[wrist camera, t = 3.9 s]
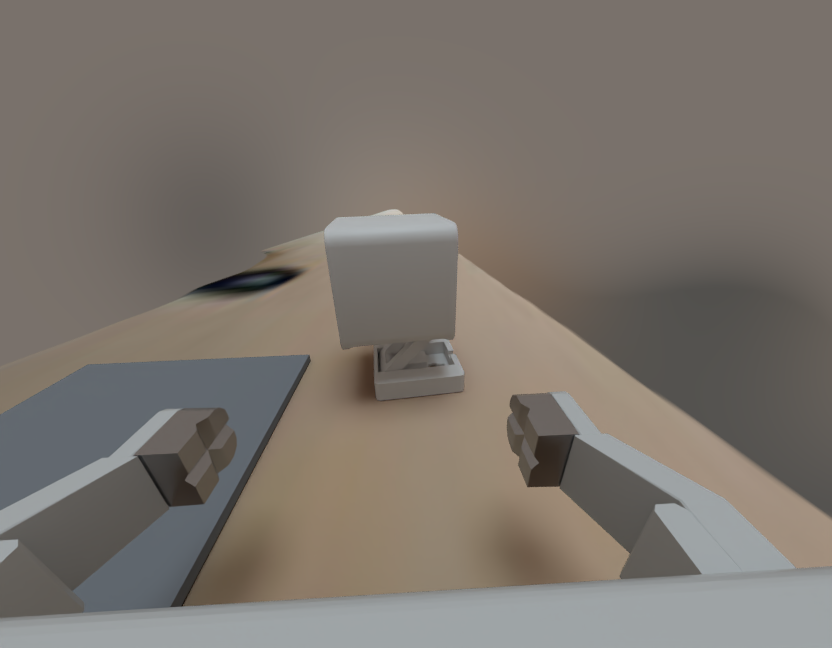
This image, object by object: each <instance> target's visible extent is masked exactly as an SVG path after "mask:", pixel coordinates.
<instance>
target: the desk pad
mask: <svg viewBox="0 0 832 648" xmlns="http://www.w3.org/2000/svg"><path fill="white" fill-rule="evenodd" d="M309 362H310V356H309V355H291V356H268V357H246V358H224V359H201V360H179V361H157V362H134V363H112V364H90V365H86V366H84V367H83V368H81V369H79V370H77V371H76V372H74V373H72V374H70V375H69V376H67V377H65V378H63V379H62V380H60V381H58V382H56V383H55V384H53V385H51V386H49V387H48V388H46V389H44V390H42V391H41V392H39V393H37V394H35V395H34V396H32V397H30V398H28V399H27V400H25V401H23V402H21V403H20V404H18V405H16V406H14V407H13V408H11V409H9V410H7V411H6V412H4V413H2V414H0V510H2V509H4V508H6V507H8V506H10V505H12V504H14V503H16V502H18V501H20V500H22V499H24V498H26V497H27V496H29V495H31V494H33V493H35V492H37V491H39V490H41V489H43V488H45V487H47V486H49V485H51V484H53V483H55V482H56V481H58V480H60V479H62V478H64V477H66V476H68V475H70V474H72V473H74V472H76V471H78V470H80V469H82V468H84V467H85V466H87V465H89V464H91V463H93V462H95V461H97V460H99V459H101V458H109V457H110V456H111V455H112V454H113V453H114V452H115V451H116V450H117V449H118V448H120V447H121V446H122V445H123V444H124V443H125V442H126V441H127V440H128V439H129V438H130V437H132V436H133V435H134V434H135V433H136V432H137V431H138V430H139V429H140V428H141V427H142V426H144V425H145V424H146V423H147V422H148V421H149V420H150V419H151V418H152V417H153V416H154V415H156V414H157V413H158V412H159V411H162V410H165V409H184V408H219V407H220V408H223V409H225V410H226V412H227V414H228V416H229V420H228V422H227V424H226V425H228V426H229V427H230V428H232V429H233V430H234V432H235V434H236V437H237V447H236V451H235V455H234V457H233V459H232V460H231V462H230V464H229V465H228V466H227V467H226V468H224V469H223V470H222V471H220V472H219V473H218V475H219V482H218V483H217V485H216V486H215V488H214V490H213V491H212V493H211V494H210V496H209V498H208V499H207V501H206V502H205V504H201V505H189V506H177V507H169V508H170V509H169V510H168V511H167V512H165V513H164V514H163V515H162V516H161V517H159V518H158V519H157V520H156V521H155V522H154V523H152V524H151V525H150V526H149V527H148V528H146V529H145V530H144V531H143V532H142V533H141V534H139V535H138V536H137V537H136V538H135V539H133V540H132V541H131V542H130V543H129V544H128V545H126V546H125V547H124V548H123V549H122V550H120V551H119V552H118V553H117V554H116V555H114V556H113V557H112V558H111V559H110V560H109V561H107V562H106V563H105V564H104V565H103V566H101V567H100V568H99V569H98V570H97V571H96V572H94V573H93V574H92V575H91V576H90V577H88V578H87V579H86V580H85V581H84V582H83V583H81V584H80V585H79V586H78V587H77V588H75V589H74V590H73V592H74V593H75V594H76V595H77V596H78V597H79V598H80V599H81V600H82V601H83V602H84V611H83V612H82V613H88V612H104V611H119V610H135V609H151V608H167V607H181V605H182V604H183V602H184V600H185V598H186V596H187V594H188V592H189V590H190V588H191V586H192V585H193V583H194V581H195V579H196V577H197V575H198V573H199V571H200V569H201V567H202V566H203V564H204V562H205V560H206V558H207V556H208V554H209V552H210V550H211V548H212V547H213V545H214V543H215V541H216V539H217V537H218V535H219V533H220V531H221V529H222V528H223V526H224V524H225V522H226V520H227V518H228V516H229V514H230V512H231V510H232V509H233V507H234V505H235V503H236V501H237V499H238V497H239V495H240V493H241V491H242V490H243V488H244V486H245V484H246V482H247V480H248V478H249V476H250V474H251V472H252V471H253V469H254V467H255V465H256V463H257V461H258V459H259V457H260V455H261V453H262V452H263V450H264V448H265V446H266V444H267V442H268V440H269V438H270V436H271V434H272V433H273V431H274V429H275V427H276V425H277V423H278V421H279V419H280V417H281V415H282V414H283V412H284V410H285V408H286V406H287V404H288V402H289V400H290V398H291V396H292V395H293V393H294V391H295V389H296V387H297V385H298V383H299V381H300V379H301V377H302V376H303V374H304V372H305V370H306V368H307V366H308V364H309Z"/></svg>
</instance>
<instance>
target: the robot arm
mask: <svg viewBox="0 0 832 648" xmlns="http://www.w3.org/2000/svg"><path fill="white" fill-rule="evenodd" d="M510 408H511V410H512V412H513V413H512V414H511V415H510V416H509V417H508V420H507V436H508V440H509V444H510V446H511V449H512V451H513V452H514V453H515V454H517V455H518V456H519V463H518V466H519V468H520V471H521V473H522V475H523V478H524V480H525V483H526V485H527V487H558V486H560V489H561V490H562V491H563V492H564V493H565V494H566V495H568V496H569V497H570V498H571V499H572V500H573V501H574V502H575V503H576V504H577V505H578V506H579V507H581V508H582V509H583V510H584V511H585V512H586V513H587V514H588V515H589V516H590V517H591V518H592V519H593V520H595V521H596V522H597V523H598V524H599V525H600V526H601V527H602V528H603V529H604V530H605V531H606V532H608V533H609V534H610V535H611V536H612V537H613V538H614V539H615V540H616V541H617V542H618V543H619V544H620V545H622V546H623V547H624V548H625V549H626V550H627V551H628V552H629V553H630V555H629V557H628V559H627V561H626V563H625V565H624V567H623V568H622V571H621V574H620V578H621V579H617V580H601V581H584V582H568V583H552V584H536V585H520V586H504V587H488V588H471V589H455V590H439V591H423V592H407V593H391V594H374V595H358V596H342V597H326V598H310V599H294V600H278V601H262V602H246V603H230V604H215V605H199V606H183V607H167V608H151V609H135V610H119V611H104V612H88V613H82V612H83V611H84V602H83V601H82V600H81V599H80V598H79V597H78V596H77V595H76V594H75V593H74V592H73V590H74V589H75V588H77V587H78V586H79V585H80V584H81V583H83V582H84V581H85V580H86V579H87V578H88V577H90V576H91V575H92V574H93V573H94V572H96V571H97V570H98V569H99V568H100V567H101V566H103V565H104V564H105V563H106V562H107V561H109V560H110V559H111V558H112V557H113V556H114V555H116V554H117V553H118V552H119V551H120V550H122V549H123V548H124V547H125V546H126V545H128V544H129V543H130V542H131V541H132V540H133V539H135V538H136V537H137V536H138V535H139V534H141V533H142V532H143V531H144V530H145V529H146V528H148V527H149V526H150V525H151V524H152V523H154V522H155V521H156V520H157V519H158V518H159V517H161V516H162V515H163V514H164V513H165V512H167V511H168V510H169V509H170V508H169V507H177V506H189V505H201V504H205V502H206V501H207V499H208V498H209V496H210V494H211V493H212V491H213V490H214V488H215V486H216V485H217V483H218V482H219V475H218V473H219V472H220V471H222V470H223V469H224V468H226V467H227V466H228V465H229V464H230V462H231V460H232V459H233V457H234V455H235V451H236V447H237V437H236V434H235V432H234V430H233V429H232V428H230V427H229V426H228V425H226V424H227V422H228V420H229V416H228V414H227V412H226V410H225V409H223V408H220V407H219V408H184V409H165V410H162V411H159V412H158V413H157V414H156V415H154V416H153V417H152V418H151V419H150V420H149V421H148V422H147V423H146V424H145V425H144V426H142V427H141V428H140V429H139V430H138V431H137V432H136V433H135V434H134V435H133V436H132V437H130V438H129V439H128V440H127V441H126V442H125V443H124V444H123V445H122V446H121V447H120V448H118V449H117V450H116V451H115V452H114V453H113V454H112V455H111V456H110V457H109V458H101V459H99V460H97V461H95V462H93V463H91V464H89V465H87V466H85V467H84V468H82V469H80V470H78V471H76V472H74V473H72V474H70V475H68V476H66V477H64V478H62V479H60V480H58V481H56V482H55V483H53V484H51V485H49V486H47V487H45V488H43V489H41V490H39V491H37V492H35V493H33V494H31V495H29V496H27V497H26V498H24V499H22V500H20V501H18V502H16V503H14V504H12V505H10V506H8V507H6V508H4V509H2V510H0V648H832V566H827V567H811V568H796V567H795V566H794V565H793V564H792V563H790V562H789V561H788V560H787V559H786V558H785V557H784V556H783V555H782V554H781V553H780V552H779V551H778V550H777V549H776V548H775V547H774V546H773V545H772V544H771V543H770V542H769V541H768V540H767V539H766V538H765V537H764V536H763V535H762V534H761V533H760V532H759V531H758V530H757V529H756V528H755V527H754V526H753V525H751V524H750V523H749V522H748V521H747V520H746V519H745V518H744V517H743V516H742V515H741V514H740V513H739V512H738V511H737V510H736V509H735V508H734V507H733V506H732V505H731V504H730V503H729V502H728V501H727V500H726V499H724V498H722V497H721V496H719V495H717V494H715V493H713V492H712V491H710V490H708V489H706V488H704V487H703V486H701V485H699V484H697V483H695V482H694V481H692V480H690V479H688V478H686V477H685V476H683V475H681V474H679V473H677V472H676V471H674V470H672V469H670V468H668V467H667V466H665V465H663V464H661V463H659V462H657V461H656V460H654V459H652V458H650V457H648V456H647V455H645V454H643V453H641V452H639V451H638V450H636V449H634V448H632V447H630V446H629V445H627V444H625V443H623V442H621V441H620V440H618V439H616V438H614V437H612V436H611V435H609V434H601V433H600V431H599V430H598V429H597V428H596V426H595V425H594V424H593V423H592V421H591V420H590V419H589V418H588V417H587V415H586V414H585V413H584V412H583V410H582V409H581V408H580V407H579V405H578V404H577V403H576V402H575V400H574V399H573V398H572V397H571V396H570V394H569V393H567V392H565V391H564V392H548V393H537V394H517V395H512V397H511V400H510Z"/></svg>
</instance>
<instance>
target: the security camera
mask: <svg viewBox="0 0 832 648" xmlns="http://www.w3.org/2000/svg"><path fill="white" fill-rule="evenodd" d="M324 241H325V249H326V255H327V262H328V268H329V274H330V281H331V287H332V293H333V299H334V306H335V312H336V318H337V324H338V331H339V337H340V343H341V347H342V349H343V350H344V349H350V348H352V347H358V346H369V345H374V385H375V394H376V399H377V400H379V401H382V400H391V399H400V398H409V397H418V396H427V395H436V394H445V393H453V392H461V391H463V390H464V371H463V369H462V367H461V365H460V362H459V360H458V358H457V356H456V354H453V348H452V346H451V344H450V342H449V340H453V339H454V336H455V320H456V291H457V261H458V230H457V226H456V224H455V223H454V222H453V221H450V220H448V219H446V218H444V217H441V216H439V215H437V214H435V213H432V214H411V215H410V214H409V215H385V216H362V217H340V218H338V217H337V218H336V219H335V220H334V221H333V222H332V223H331V224H329V225H328V226H327V227H326V228H325V230H324ZM430 366H435V367H430Z"/></svg>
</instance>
